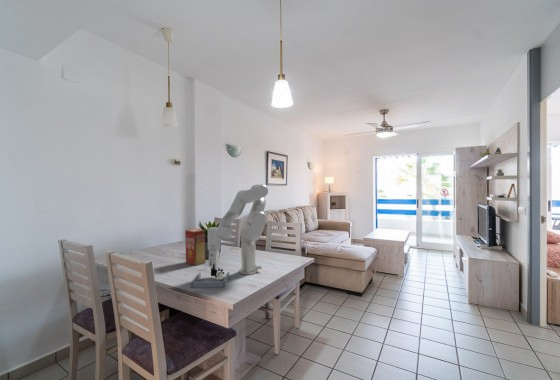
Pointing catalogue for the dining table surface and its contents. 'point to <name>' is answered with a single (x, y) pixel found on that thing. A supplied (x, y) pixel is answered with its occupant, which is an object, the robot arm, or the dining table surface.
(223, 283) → the tray frame
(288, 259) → the dining table surface
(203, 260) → the food packaging
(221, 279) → the valve
